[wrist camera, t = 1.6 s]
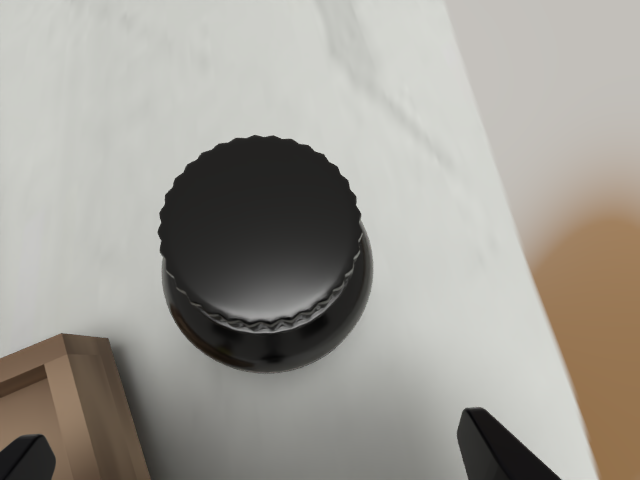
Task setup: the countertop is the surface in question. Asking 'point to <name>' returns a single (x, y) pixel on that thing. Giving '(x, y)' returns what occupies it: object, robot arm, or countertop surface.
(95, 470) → the square wooden tray
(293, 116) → the countertop surface
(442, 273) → the countertop surface
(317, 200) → the supplement bottle
